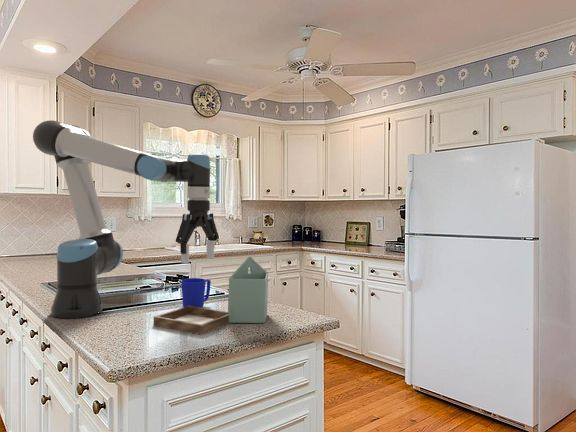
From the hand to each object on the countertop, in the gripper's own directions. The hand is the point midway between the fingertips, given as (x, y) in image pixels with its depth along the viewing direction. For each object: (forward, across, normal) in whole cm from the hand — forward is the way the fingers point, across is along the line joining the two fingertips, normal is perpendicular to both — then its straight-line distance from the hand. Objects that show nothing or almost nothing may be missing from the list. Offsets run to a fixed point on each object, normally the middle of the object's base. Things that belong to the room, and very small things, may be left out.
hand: (198, 261), depth 152 cm
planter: (+16, -3, -25) cm, 30 cm away
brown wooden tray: (+16, -15, -11) cm, 25 cm away
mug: (+17, 0, 0) cm, 17 cm away
